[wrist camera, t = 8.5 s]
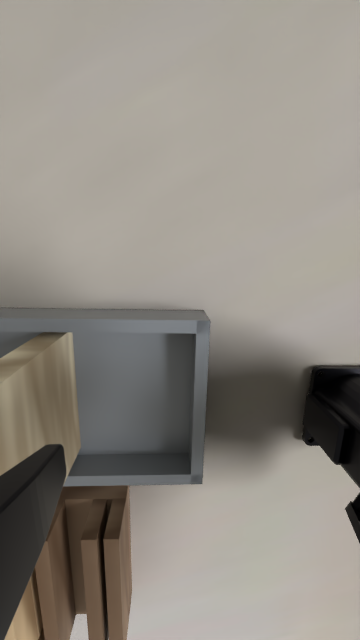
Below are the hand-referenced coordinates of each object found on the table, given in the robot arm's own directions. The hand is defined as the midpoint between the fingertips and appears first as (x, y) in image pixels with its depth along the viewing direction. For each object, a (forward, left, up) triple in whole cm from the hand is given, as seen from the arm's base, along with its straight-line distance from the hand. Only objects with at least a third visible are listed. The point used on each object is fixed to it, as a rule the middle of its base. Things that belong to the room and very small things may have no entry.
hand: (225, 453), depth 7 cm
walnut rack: (+11, +19, -12) cm, 25 cm away
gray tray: (+9, +4, -12) cm, 15 cm away
